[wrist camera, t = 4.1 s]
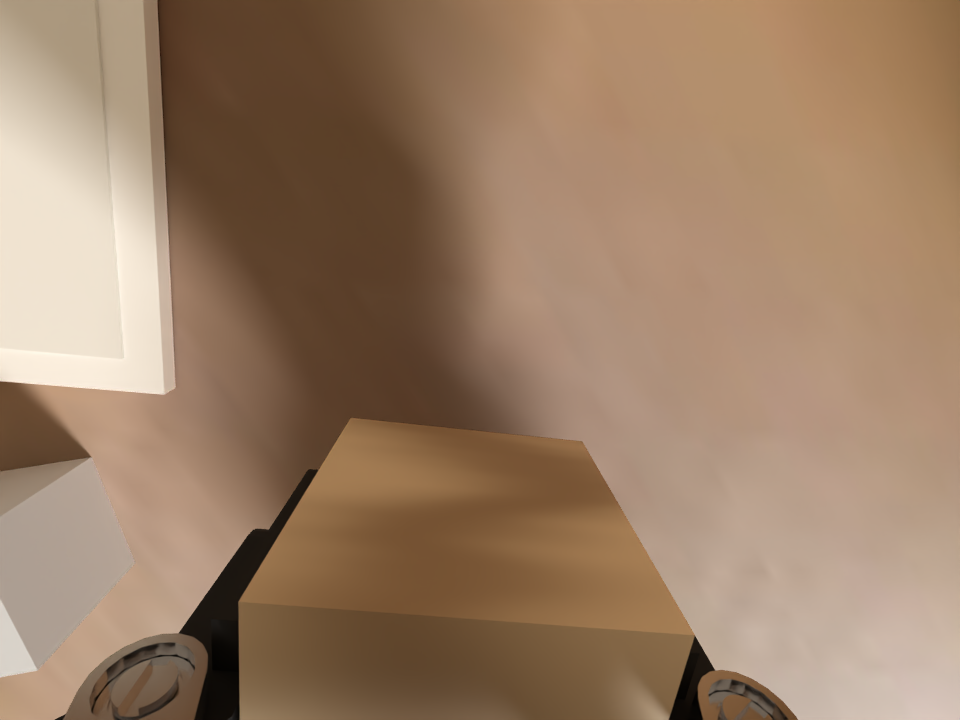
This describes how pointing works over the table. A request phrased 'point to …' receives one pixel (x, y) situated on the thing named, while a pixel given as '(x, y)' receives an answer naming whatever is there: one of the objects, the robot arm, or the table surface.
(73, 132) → the tray
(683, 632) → the oak cube
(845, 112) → the table surface
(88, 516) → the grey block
